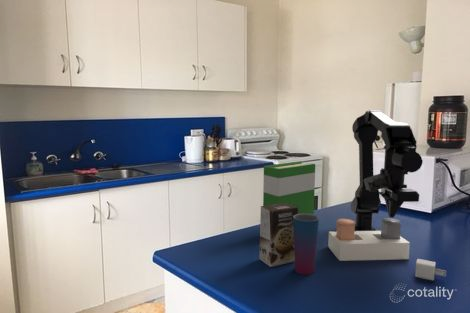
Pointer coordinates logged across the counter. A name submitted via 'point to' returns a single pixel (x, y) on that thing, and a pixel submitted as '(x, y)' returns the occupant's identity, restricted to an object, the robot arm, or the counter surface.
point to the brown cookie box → (277, 234)
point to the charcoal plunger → (390, 228)
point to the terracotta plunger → (345, 229)
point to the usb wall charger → (427, 270)
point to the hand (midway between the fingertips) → (391, 217)
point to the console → (368, 247)
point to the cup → (305, 242)
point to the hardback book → (290, 185)
